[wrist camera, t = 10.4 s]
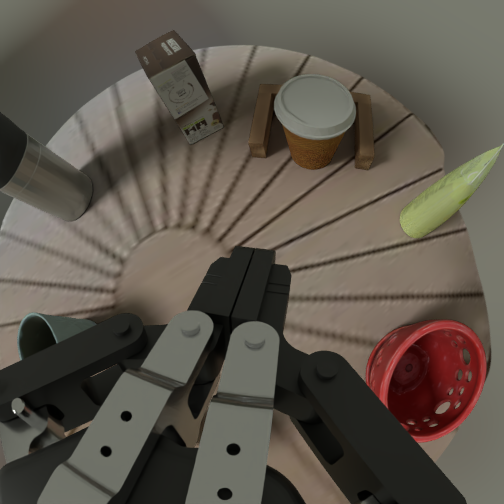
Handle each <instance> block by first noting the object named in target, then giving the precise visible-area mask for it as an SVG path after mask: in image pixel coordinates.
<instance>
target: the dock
mask: <svg viewBox="0 0 504 504" xmlns="http://www.w3.org/2000/svg"><path fill="white" fill-rule="evenodd" d="M282 86H283V85H274V84H260V87H259V92H258V97H257V102H256V107H255V112H254V117H253V122H252V127H251V132H250V137H249V142H248V143H249V147H250V150H251V154H252V157H258V158H266V155H267V148H268V142H269V135H270V129H271V123H272V116H273V110H274V101H275V98H276V95H277V94H278V92H279V91H280V88H281V87H282ZM350 94H351V96H352V98H353V101H354V104H355V107H356V117H355V120H354V128H355V168H358V169H364V170H368V169H369V167H370V165H371V163H372V161H373V159H374V137H373V122H372V110H371V99H370V95H366V94H360V93H354V92H350Z"/></svg>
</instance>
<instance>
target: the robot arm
mask: <svg viewBox="0 0 504 504" xmlns="http://www.w3.org/2000/svg"><path fill="white" fill-rule="evenodd" d="M0 191H1V192H3V193H5V194H7V195H9V196H12V197H14V198H16V199H18V200H20V201H22V202H24V203H27V204H29V205H31V206H33V207H35V208H38V209H40V210H42V211H44V212H46V213H49V214H51V215H53V216H55V217H57V218H60V219H62V220H64V221H74V220H76V219H77V218H79V217H80V216H81V215H82V214H83V213H84V211H85V210H86V208H87V207H88V205H89V202H90V200H91V197H92V191H93V187H92V182H91V180H90V178H89V177H88V176H87V175H85V174H84V173H82V172H81V171H79V170H78V169H76V168H75V167H74V166H72V165H71V164H69V163H68V162H66V161H65V160H64V159H62V158H61V157H59V156H58V155H56V154H55V153H53V152H52V151H51V150H49V149H48V148H46V147H45V146H43V145H42V144H41V143H39V142H38V141H36V140H35V139H33V138H32V137H30V136H29V135H28V134H27V133H25V132H24V131H23V130H21V129H20V128H19V127H17V126H16V125H15V124H14V123H13V122H12V121H11V120H10V119H9V118H7V117H6V116H5V115H3V114H2V113H1V112H0ZM275 255H276V252H275V250H266V249H258V248H256V249H255V248H250V247H241V246H235V248H234V250H233V252H232V254H231V256H230V258H224V257H220V258H219V259H218V260H216V261H215V262H214V263H212V264H211V266H210V268H209V270H208V271H207V273H206V275H205V277H204V279H203V281H202V283H201V285H200V287H199V289H198V290H197V292H196V294H195V296H194V298H193V300H192V302H191V304H190V306H189V308H188V310H187V311H185V312H182V313H179V314H177V315H176V316H174V317H173V318H172V319H171V321H170V322H169V324H166V325H150V326H144V325H143V323H142V321H141V319H140V318H139V317H138V316H136V315H134V314H129V313H124V314H119V315H116V316H114V317H112V318H110V319H108V320H105V321H103V322H101V323H99V324H97V325H95V326H93V327H91V328H89V329H86V330H84V331H82V332H80V333H78V334H76V335H74V336H72V337H69V338H67V339H65V340H63V341H61V342H59V343H57V344H55V345H53V346H50V347H48V348H46V349H44V350H42V351H40V352H38V353H36V354H33V355H31V356H29V357H27V358H25V359H23V360H21V361H19V362H17V363H14V364H12V365H10V366H8V367H6V368H4V369H2V370H0V438H1V443H2V447H3V451H4V455H5V458H6V462H7V464H6V465H5V466H3V467H2V468H1V470H0V504H306V503H305V502H304V500H303V498H302V497H301V495H300V494H299V492H298V491H297V489H296V488H295V486H294V485H293V484H292V483H291V482H290V481H289V480H288V479H287V478H286V477H285V476H284V475H283V474H281V473H280V472H278V471H277V470H275V469H274V468H272V467H270V466H268V465H267V457H268V449H269V441H270V433H271V425H272V416H273V408H274V409H276V410H278V411H280V412H283V413H285V414H287V415H289V416H290V419H291V421H292V422H293V424H294V425H295V427H296V428H297V430H298V431H299V433H300V434H301V436H302V437H303V438H304V440H305V441H306V443H307V444H308V446H309V447H310V449H311V450H312V451H313V453H314V454H315V456H316V457H317V458H318V460H319V461H320V463H321V464H322V465H323V467H324V468H325V470H326V471H327V472H328V474H329V475H330V476H331V478H332V479H333V480H334V482H335V483H336V484H337V486H338V487H339V488H340V490H341V491H342V492H343V494H344V495H345V496H346V498H347V499H348V500H349V502H350V503H351V504H467V503H466V500H465V498H464V497H463V495H462V494H461V493H460V492H459V491H458V490H457V488H456V487H455V486H454V485H453V484H452V483H451V481H450V480H449V479H448V478H447V477H446V476H445V474H444V473H443V472H442V471H441V470H440V469H439V468H438V466H437V465H436V464H435V463H434V462H433V460H432V459H431V458H430V457H429V456H428V455H427V454H426V452H425V451H424V450H423V449H422V448H421V447H420V445H419V444H418V443H417V442H416V441H415V440H414V438H413V437H412V436H411V435H410V434H409V433H408V431H407V430H406V429H405V428H404V427H403V426H402V425H401V423H400V422H399V421H398V420H397V419H396V418H395V416H394V415H393V414H392V413H391V412H390V411H389V409H388V408H387V407H386V406H385V405H384V404H383V402H382V401H381V400H380V399H379V398H378V397H377V396H376V394H375V393H374V392H373V391H372V390H371V389H370V387H369V386H368V385H367V384H366V383H365V382H364V380H363V379H362V378H361V377H360V376H359V375H358V374H357V372H356V371H355V370H354V369H353V368H352V367H351V365H350V364H349V363H348V362H347V361H346V360H345V359H344V358H343V357H342V356H340V355H339V354H337V353H334V352H331V351H318V352H314V353H312V354H310V355H308V354H306V353H303V352H301V351H299V350H297V349H295V348H293V347H292V346H291V345H290V344H289V343H288V342H287V341H286V339H285V338H284V335H283V330H284V324H285V319H286V313H287V307H288V299H289V292H290V283H291V273H290V271H289V269H288V266H286V265H278V264H275ZM224 360H225V362H224ZM223 362H224V366H223V371H222V375H221V379H220V371H221V368H222V365H223ZM117 363H118V364H117ZM115 364H117V365H115ZM113 365H115V366H113ZM111 366H113V367H111ZM109 367H111V368H109ZM107 368H109V369H107ZM105 369H107V370H105ZM103 370H105V371H103ZM101 371H103V372H101ZM99 372H101V373H99ZM97 373H99V374H97ZM95 374H97V375H95ZM93 375H95V376H93ZM91 376H92V377H91ZM219 379H220V383H219V387H218V391H217V394H216V395H214V396H213V393H214V391H215V389H216V386H217V384H218V382H219ZM212 396H213V397H212ZM211 398H212V399H211ZM210 400H211V401H210ZM209 402H210V404H209ZM208 405H209V408H208V412H207V416H206V420H205V424H204V428H203V432H202V436H201V440H200V444H199V448H194V447H195V445H196V443H197V440H198V436H199V429H200V424H201V421H202V418H203V416H204V414H205V411H206V409H207V407H208ZM91 420H93V421H92V422H91V424H90V426H89V427H87V428H84V429H82V430H80V431H78V432H76V433H74V434H72V435H70V436H68V437H66V436H65V434H64V432H67V431H69V430H71V429H74V428H76V427H78V426H80V425H82V424H85V423H87V422H89V421H91Z"/></svg>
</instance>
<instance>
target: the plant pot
mask: <svg viewBox="0 0 504 504" xmlns="http://www.w3.org/2000/svg"><path fill="white" fill-rule="evenodd" d="M454 341H455V342H456V343H457V344H456V343H455V342H454ZM463 349H466V350H467V351H468V352H469V354H470V358H471V359H470V363H469V364H467V363H466V362H465V361H464V358H463ZM459 370H462V373H463V375H462V378H461V380H459V379H458V372H459ZM470 371H471V373H472V378H471V380H470V382H469V381H468V374H469V372H470ZM485 377H486V356H485V351H484V348H483V345H482V343H481V341H480V339H479V338H478V336H477V335H476V334H475V332H474V331H473V330H472V329H470V328H469V327H468V326H466V325H465V324H463V323H460V322H458V321H454V320H446V319H441V320H427V321H422V322H418V323H415V324H412V325H409V326H404V327H400V328H397V329H395V330H393V331H391V332H390V333H388V334H387V335H386V336H385V337H383V338H382V339H381V340H380V341H379V343H378V344H377V345H376V346H375V348H374V349H373V351H372V353H371V355H370V357H369V360H368V363H367V367H366V384H367V385H368V386H369V387H370V389H371V390H372V391H373V392H374V393H375V394H376V396H377V397H378V398H379V399H380V400H381V401H382V402H383V404H384V405H385V406H386V407H387V408H388V409H389V411H390V412H391V413H392V414H393V415H394V416H395V418H396V419H397V420H398V421H399V422H400V423H401V425H402V426H403V427H404V428H405V429H406V430H407V431H408V433H409V434H410V435H411V436H412V437H413V438H414V440H415V441H416V442H418V443H420V442H428V441H432V440H435V439H438V438H440V437H442V436H445V435H446V434H448V433H450V432H451V431H453V430H454V429H455V428H457V427H458V426H459V425H460V424H461V423H462V422H463V421H464V420H465V419H466V418H467V416H468V415H469V414H470V413H471V411H472V410H473V408H474V406H475V405H476V403H477V401H478V399H479V397H480V394H481V392H482V389H483V386H484V382H485ZM452 388H453V389H454V390H453V393H452V394H451V395H449V392H450V390H451V389H452ZM462 388H464V391H463V393H462V394H461V395H460V392H461V389H462ZM445 402H450V406H449V408H448V409H447V410H446V412H444V413H442V414H436V413H435V412H436V410H437V408H438V407H439V406H440V405H441V404H443V403H445ZM459 402H461V404H460V406H459V407H458V408H456V409H455V407H456V405H457V404H458V403H459ZM425 419H430V420H429V421H426V422H423V420H425ZM408 423H414V425H411V424H408ZM432 424H438V425H437V426H434V427H429V426H430V425H432Z"/></svg>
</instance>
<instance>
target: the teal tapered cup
mask: <svg viewBox="0 0 504 504" xmlns="http://www.w3.org/2000/svg"><path fill="white" fill-rule="evenodd" d="M95 325H97V324H96V323H95V322H93V321H91V320H87V319H76V318H69V317H61V316H52V315H46V314H40V313H29V314H28V315H26V316H25V317H24V318H23V320H22V322H21V324H20V327H19V330H18V337H17V344H18V352H19V356H20V360H23V359H25V358H27V357H29V356H31V355H33V354H36V353H38V352H40V351H42V350H44V349H46V348H48V347H50V346H53V345H55V344H57V343H59V342H61V341H63V340H65V339H67V338H69V337H72V336H74V335H76V334H78V333H80V332H82V331H84V330H86V329H89V328H91V327H93V326H95Z"/></svg>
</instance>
